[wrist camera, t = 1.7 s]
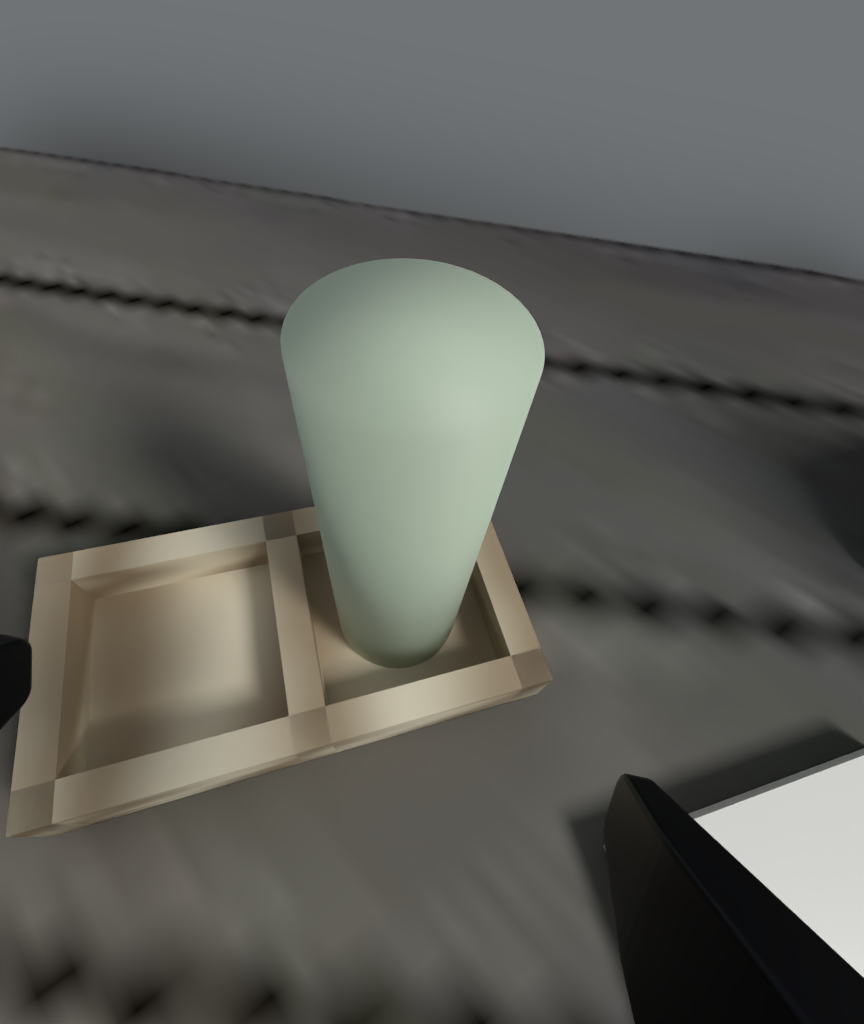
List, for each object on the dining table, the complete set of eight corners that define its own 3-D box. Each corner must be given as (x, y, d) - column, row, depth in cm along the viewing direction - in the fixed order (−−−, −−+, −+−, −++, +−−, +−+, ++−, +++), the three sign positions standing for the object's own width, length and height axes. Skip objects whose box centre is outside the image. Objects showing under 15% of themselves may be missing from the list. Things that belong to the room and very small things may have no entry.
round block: (351, 682, 20) (302, 461, 8) (329, 571, 22) (265, 269, 10) (469, 651, 21) (587, 412, 9) (436, 548, 23) (494, 249, 11)
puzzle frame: (53, 835, 17) (5, 837, 15) (72, 584, 21) (38, 558, 19) (535, 694, 20) (553, 679, 18) (465, 505, 25) (473, 476, 23)
